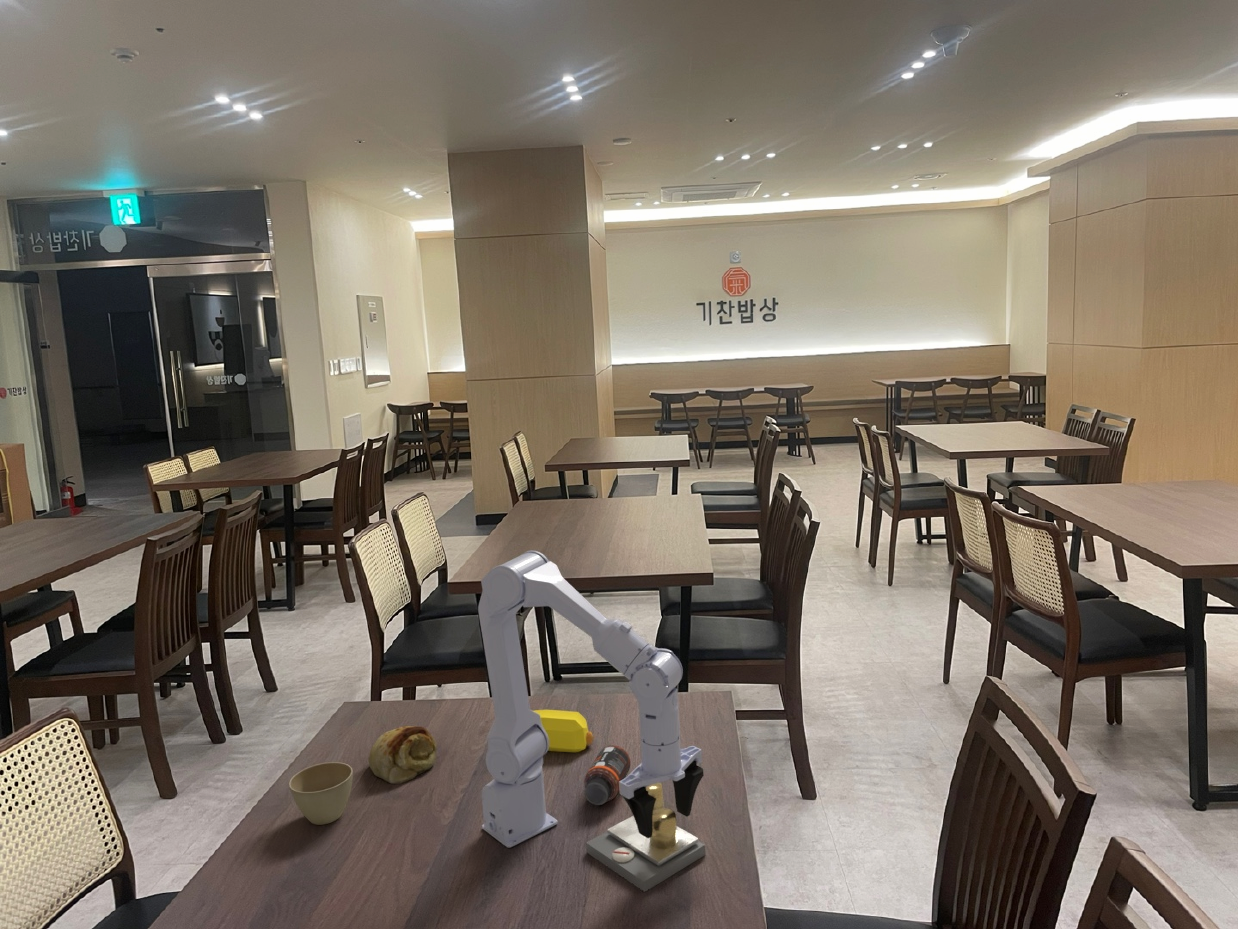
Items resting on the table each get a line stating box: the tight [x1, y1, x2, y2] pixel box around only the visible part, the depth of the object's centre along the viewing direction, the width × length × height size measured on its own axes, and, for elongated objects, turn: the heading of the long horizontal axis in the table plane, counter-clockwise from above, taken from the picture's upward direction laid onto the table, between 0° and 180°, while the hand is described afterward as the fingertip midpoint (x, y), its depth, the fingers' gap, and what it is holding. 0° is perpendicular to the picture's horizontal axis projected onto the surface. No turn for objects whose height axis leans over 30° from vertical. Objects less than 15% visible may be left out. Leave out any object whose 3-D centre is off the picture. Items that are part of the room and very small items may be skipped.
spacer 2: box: [650, 807, 677, 849], centre depth 127 cm, size 4×4×4 cm
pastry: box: [367, 725, 438, 785], centre depth 160 cm, size 14×12×8 cm
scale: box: [585, 831, 706, 893], centre depth 129 cm, size 12×13×2 cm
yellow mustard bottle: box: [532, 709, 595, 753], centre depth 164 cm, size 18×7×8 cm
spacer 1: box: [646, 782, 665, 810], centre depth 140 cm, size 4×4×4 cm
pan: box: [606, 815, 700, 866], centre depth 130 cm, size 8×11×1 cm
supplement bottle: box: [583, 744, 632, 806], centre depth 146 cm, size 6×6×11 cm
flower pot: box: [288, 761, 354, 826], centre depth 144 cm, size 10×10×7 cm
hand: (664, 824), depth 127 cm, fingers open, 7 cm apart
